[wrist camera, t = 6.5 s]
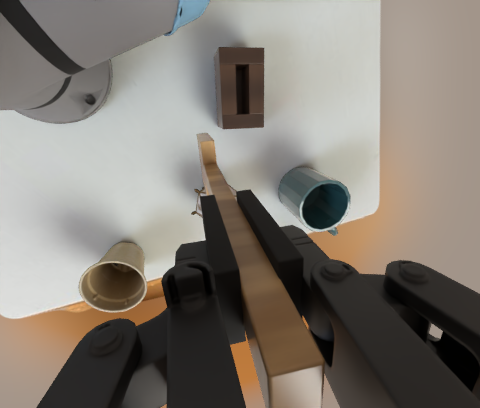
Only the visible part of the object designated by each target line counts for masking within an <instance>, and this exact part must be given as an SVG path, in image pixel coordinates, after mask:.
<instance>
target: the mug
mask: <svg viewBox="0 0 480 408" xmlns="http://www.w3.org/2000/svg"><path fill="white" fill-rule="evenodd" d="M279 198H280V200H281V202H282V204H283V205H284V206H285V207H286V208H287V209H288V210H289V211H290V212H291V213H292V214H293V215H294V216H295V217H296V218H297V219H298V220H299V221H300V222H301V223H302V224H303V225H304V226H305V227H307V228H308V229H310V230H311V231H317V232H323V231H328V232H330V233H331V234H332V235H334V236H335V235H337V234H338V231H337V228H336V226H337V225H339V224H340V223H341V222H342V220H343V219H344V218H345V217H346V215H347V213H348V210H349V208H350V194H349V192H348V189H347V187H346V186H344V185H343V184H342V183H341V182H339V181H337V180H335V179H333V178H331V177H329V176H327V175H325V174H322V173H320V172H318V171H316V170H314V169H311V168H308V167H298V168H295V169H292V170H291V171H289V172H288V173H287V174H286V175H285V176H284V177H283V179H282V180H281V182H280V185H279Z"/></svg>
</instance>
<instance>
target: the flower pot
mask: <svg viewBox="0 0 480 408" xmlns="http://www.w3.org/2000/svg"><path fill="white" fill-rule="evenodd" d="M114 263H117V265H118V266H116V265H115V264H114ZM146 291H147V281H146V278H145V276H144V253H143V251H142V249H141V248H140V247H139V246H137V245H135V244H133V243H124V242H122V243H118V244H116V245H114V246H113V247H111V248H110V250H109V251H108V252H107V253H106V254H105V256H104V257H103V258H102V259H101V260H100V261H99V262H98V263H96V264H94V265H92V266H91V267H89V268H88V269H87V270H86V271H85V272H84V274H83V275H82V277H81V279H80V281H79V292H80V295H81V297H82V298H83V300H84V301H85V302H86V303H87V304H88V305H90V306H91V307H93V308H95V309H98V310H101V311H104V312H122V311H126V310H129V309H131V308H133V307H135V306H136V305H137V304H139V303H140V302H141V301H142V300H143V298H144V296H145V294H146Z"/></svg>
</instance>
